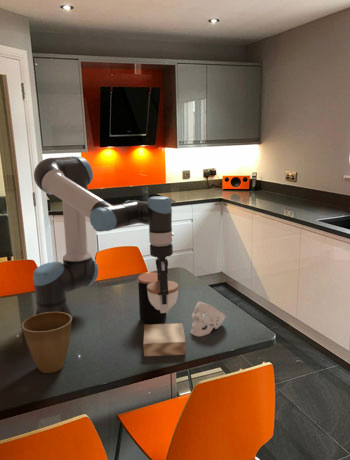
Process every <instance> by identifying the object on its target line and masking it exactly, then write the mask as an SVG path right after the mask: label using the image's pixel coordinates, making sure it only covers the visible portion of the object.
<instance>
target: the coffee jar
mask: <svg viewBox="0 0 350 460" xmlns="http://www.w3.org/2000/svg"><path fill="white" fill-rule="evenodd" d="M137 280H138V283H137V284H138V285H137V286H138V305H139V306H138V307H139V319H140V321H141V322H142V323H143V324H144V325H153V324H163V323H164V322H165V320H166V319H167V313H160V310H157V309H155V307H154V306H152V304H151V303H150V301H149V299H148V293H147V285H148V284H149V283H151V282H154V281H158V277H157V272H148V273H143V274H141V275H139V276H138V278H137Z"/></svg>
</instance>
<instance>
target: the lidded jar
mask: <svg viewBox="0 0 350 460" xmlns="http://www.w3.org/2000/svg"><path fill="white" fill-rule="evenodd" d="M168 292H169V294H168V307H169V310H171V309H172V308H173V307H174V305H175V304H176V302H177V301H178V297H179V284H178V283H177V282H175V281H174V280H173V281H172V280H168ZM147 293H148V299H149V301H150V303H151V304H152V306H154V307H155V309H157V310H160V295H158V293H160V282H159V281H154V282H151V283H149V284H148V285H147Z"/></svg>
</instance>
